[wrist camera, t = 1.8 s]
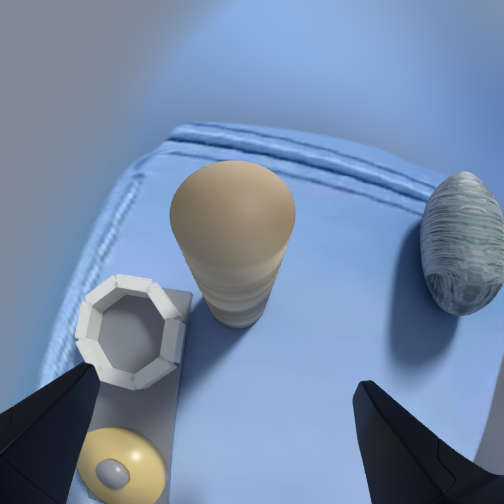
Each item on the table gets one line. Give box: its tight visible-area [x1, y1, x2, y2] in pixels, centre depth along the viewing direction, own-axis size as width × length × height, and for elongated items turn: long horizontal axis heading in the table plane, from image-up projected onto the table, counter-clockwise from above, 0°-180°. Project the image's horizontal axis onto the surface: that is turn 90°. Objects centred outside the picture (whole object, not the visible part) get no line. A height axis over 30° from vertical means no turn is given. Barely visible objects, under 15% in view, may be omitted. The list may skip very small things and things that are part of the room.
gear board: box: [75, 274, 193, 504], centre depth 16 cm, size 20×8×4 cm, turn 174°
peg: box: [170, 161, 296, 329], centre depth 16 cm, size 4×4×13 cm
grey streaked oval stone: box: [420, 172, 504, 316], centre depth 20 cm, size 14×10×10 cm
